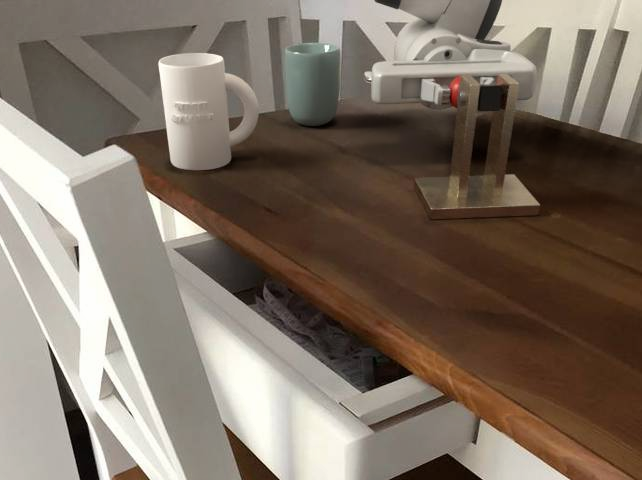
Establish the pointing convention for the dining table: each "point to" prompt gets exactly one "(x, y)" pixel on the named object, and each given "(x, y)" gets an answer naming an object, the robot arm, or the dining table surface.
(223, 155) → the mug
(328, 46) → the cup
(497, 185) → the bracket
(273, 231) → the dining table surface
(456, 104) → the switch
